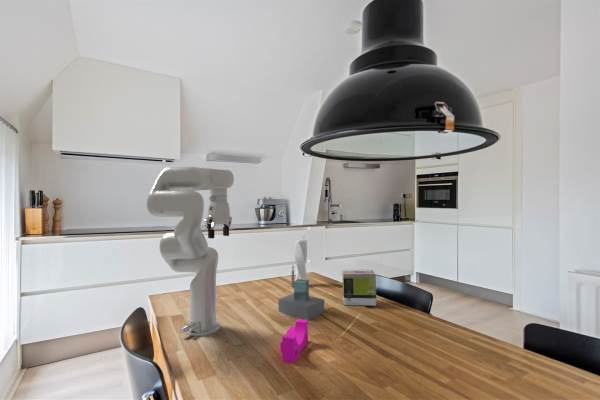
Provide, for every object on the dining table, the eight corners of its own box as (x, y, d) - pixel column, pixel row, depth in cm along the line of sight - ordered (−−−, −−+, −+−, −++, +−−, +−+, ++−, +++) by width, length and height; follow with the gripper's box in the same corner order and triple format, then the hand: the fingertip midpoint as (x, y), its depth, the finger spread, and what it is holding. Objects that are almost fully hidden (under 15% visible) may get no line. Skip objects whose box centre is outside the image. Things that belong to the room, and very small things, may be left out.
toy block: (291, 338, 109) (291, 317, 109) (308, 341, 108) (307, 320, 107) (274, 360, 95) (274, 336, 95) (294, 363, 93) (293, 338, 93)
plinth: (307, 321, 125) (307, 307, 125) (278, 312, 135) (278, 299, 135) (324, 313, 134) (324, 299, 134) (296, 305, 144) (296, 292, 144)
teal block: (304, 301, 132) (304, 282, 132) (294, 300, 134) (294, 281, 133) (309, 298, 136) (309, 279, 136) (298, 296, 138) (298, 278, 138)
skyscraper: (297, 282, 184) (297, 235, 183) (309, 283, 180) (309, 235, 180) (290, 285, 176) (290, 236, 176) (303, 287, 173) (303, 237, 172)
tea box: (373, 299, 151) (373, 269, 151) (376, 306, 141) (376, 274, 141) (342, 298, 152) (342, 268, 152) (343, 305, 142) (343, 273, 142)
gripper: (211, 199, 131) (211, 239, 131) (237, 199, 146) (237, 235, 146) (198, 199, 134) (198, 238, 134) (225, 199, 149) (225, 234, 150)
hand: (218, 237), depth 140 cm, fingers open, 9 cm apart
